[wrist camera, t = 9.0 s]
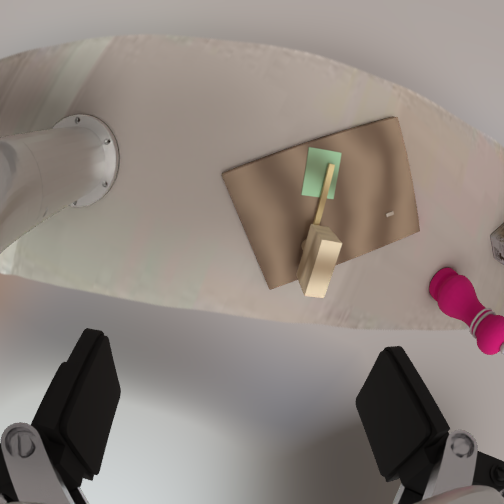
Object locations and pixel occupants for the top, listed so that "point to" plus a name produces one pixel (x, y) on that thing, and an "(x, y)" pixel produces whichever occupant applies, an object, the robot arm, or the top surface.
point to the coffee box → (498, 244)
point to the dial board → (338, 199)
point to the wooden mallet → (319, 250)
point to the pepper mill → (468, 309)
